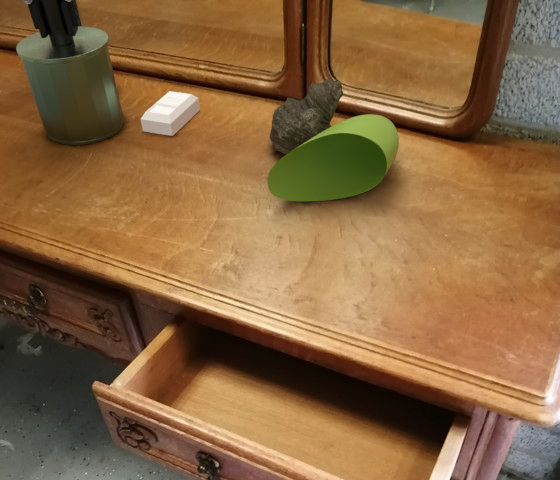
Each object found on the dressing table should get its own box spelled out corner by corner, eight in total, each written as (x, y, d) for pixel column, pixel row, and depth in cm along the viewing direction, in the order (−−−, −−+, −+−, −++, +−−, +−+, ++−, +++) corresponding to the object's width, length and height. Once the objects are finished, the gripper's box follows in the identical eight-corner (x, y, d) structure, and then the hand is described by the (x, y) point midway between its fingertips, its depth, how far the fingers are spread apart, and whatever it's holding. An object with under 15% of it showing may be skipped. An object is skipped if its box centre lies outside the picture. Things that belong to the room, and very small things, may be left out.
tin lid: (10, 72, 77) (-12, 9, 71) (29, 38, 85) (10, -20, 79) (105, 65, 77) (90, 2, 72) (114, 33, 85) (102, -26, 80)
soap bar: (199, 109, 92) (197, 92, 90) (172, 136, 86) (169, 117, 84) (171, 105, 93) (168, 88, 91) (142, 131, 87) (139, 113, 85)
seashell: (343, 129, 73) (370, 95, 79) (268, 64, 71) (301, 34, 77) (298, 188, 82) (325, 154, 87) (230, 132, 80) (262, 100, 86)
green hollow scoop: (363, 151, 62) (418, 93, 75) (261, 151, 68) (329, 97, 81) (368, 221, 67) (419, 154, 80) (273, 215, 72) (336, 154, 85)
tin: (39, 147, 85) (11, 66, 76) (53, 112, 92) (29, 35, 84) (120, 142, 85) (100, 61, 77) (127, 108, 93) (110, 30, 85)
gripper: (-77, -139, 63) (-9, 48, 76) (79, -147, 63) (118, 39, 77) (-56, -149, 68) (4, 28, 81) (88, -157, 68) (124, 20, 82)
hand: (59, 32), depth 79 cm, fingers closed on tin lid, 3 cm apart
